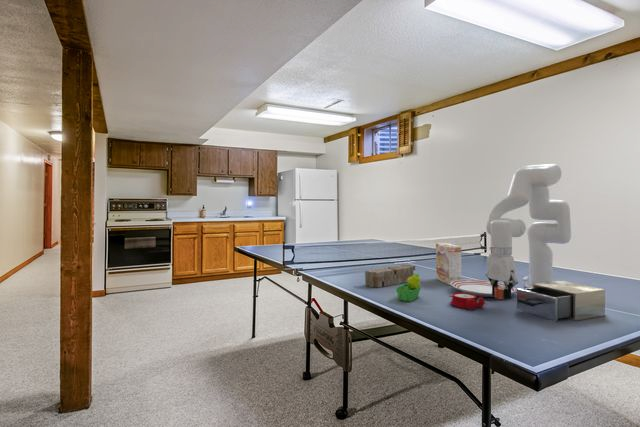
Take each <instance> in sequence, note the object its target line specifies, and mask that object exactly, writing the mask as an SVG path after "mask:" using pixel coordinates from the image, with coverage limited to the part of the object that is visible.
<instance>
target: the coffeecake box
mask: <svg viewBox="0 0 640 427" xmlns="http://www.w3.org/2000/svg"><path fill="white" fill-rule="evenodd" d="M435 271H436V272H435V279H436V280H438V281H440V282H442V283H444V284H445V285H448V286H451V284H450V283H451V282H452V281H455V280H462V246H460V245H457V244H452V243H448V242H437V243H435Z"/></svg>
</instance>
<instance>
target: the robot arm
mask: <svg viewBox="0 0 640 427" xmlns="http://www.w3.org/2000/svg"><path fill="white" fill-rule="evenodd" d="M561 178H562V169H561V166H559V165H558V164H556V163H546V164H545V163H544V164H532V165H531V164H530V165H524V166H520V167H519V168H517V169H516V171H515V172H514V173H513V175H512V179H511V181H510V185H509V188H508V191H507V195H506V196H505V197H504V198H502V199H501V200H500V201H498V202H497V203H496V204H495V205H494V206H493V207H492V208H491V210H490V212H489V215H488V217H487V221H486V232H487V233H488V234H489V235H490V247H489V250H490V253H489V254H488V257H487V263H486V264H487V265H486V273H485V277H486V278H487V279H488V281H490V282H491V285H492V295H493V296H494V295H495V292H494V287H495V286H499V285H498V283H500V282H501V283H503V284H504V285H505V289H504V299H503V300H510V299H511V298H512V293H511V289H512V288H515V286H516V285H518V284H519V280H518V279H517V277H516V264H515V259H514V255H513V238H520V237H522V236H524V234H525V233H526V234H527V240H528V252H529V254H528V276H524V277H523V278H522V281H524V282H526V283H525V285H524V287H525V289H527V288H533V284H536V283H544V282H552V281H553V254H554V253H553V250H552V249H551V247H550V245H549V244H560V245H562V244H564V245H565V244H567V243H570V241H571V238H572V226H571V224H572V222H571V209H570V205H569V203H568V201H566V200H564V199H551V198H550V197H551V196H550V188H549V187H551V186H553V185H556V184H557V183H558V182H560V180H561ZM527 205H528V211H529V216H530V218H531V219H533V220H535V221H536V220H537V221H538V222H537V221H536V222H532V223H530V224H529V225H527V226H526V223H525V222H524V221H523V219H519V218H508V217H507V218H506V217H502V216H504V215H506V214H507V213H509V212H512V211H514V210H517V209H520V208H522V207H525V206H527ZM540 221H541V222H540ZM545 221H555V222H545Z"/></svg>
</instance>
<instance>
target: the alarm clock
mask: <svg viewBox="0 0 640 427" xmlns="http://www.w3.org/2000/svg"><path fill="white" fill-rule="evenodd" d="M449 297H450V298H451V301H450V304H451V305H452V306H453V307H458V308H462V309H467V310H469V311H473V310H475V309H476V308H478V309H479V308H480V309H481V308H483V307H486V306H487V305H488V304H487V303H486V302H485V299H484V297H481V296H476V295H474V294H471V293H464V292H462V291H459V292H453V293H452V295H449Z"/></svg>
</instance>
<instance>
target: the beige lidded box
mask: <svg viewBox="0 0 640 427" xmlns="http://www.w3.org/2000/svg"><path fill="white" fill-rule="evenodd" d="M535 287H540V288H544V289H549V290H553V291H557V292H561V293H566V294H570V295H573V316H571V317H565V318H564V319H567V320H571V321H575V322H576V321H582V320H588V319H593V318H598V317H603V316H606V289H605V288H600V287H594V286H590V285H585V284H581V283H575V282H570V281H566V280H552V282H544V283H536V284H533V288H535Z"/></svg>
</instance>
